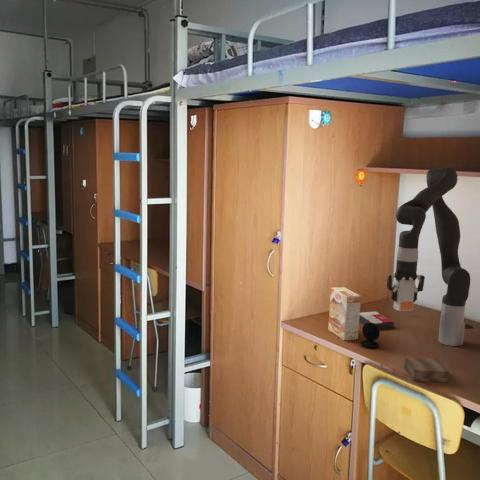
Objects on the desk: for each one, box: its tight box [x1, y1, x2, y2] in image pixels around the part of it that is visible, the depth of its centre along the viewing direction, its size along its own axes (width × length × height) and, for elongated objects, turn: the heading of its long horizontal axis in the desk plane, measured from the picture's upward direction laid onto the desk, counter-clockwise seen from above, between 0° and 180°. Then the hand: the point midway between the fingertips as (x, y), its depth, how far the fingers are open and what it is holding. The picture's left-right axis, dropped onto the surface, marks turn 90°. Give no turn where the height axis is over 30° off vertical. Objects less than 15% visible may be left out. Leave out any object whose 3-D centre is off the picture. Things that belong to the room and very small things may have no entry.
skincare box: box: [393, 279, 416, 312], centre depth 209 cm, size 6×4×12 cm
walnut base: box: [403, 357, 449, 383], centre depth 199 cm, size 12×12×4 cm
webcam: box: [360, 322, 380, 350], centre depth 226 cm, size 8×8×10 cm
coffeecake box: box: [327, 286, 362, 341], centre depth 239 cm, size 15×7×20 cm, turn 18°
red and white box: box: [359, 311, 395, 330], centre depth 256 cm, size 11×4×15 cm
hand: (403, 301), depth 209 cm, fingers closed on skincare box, 7 cm apart
